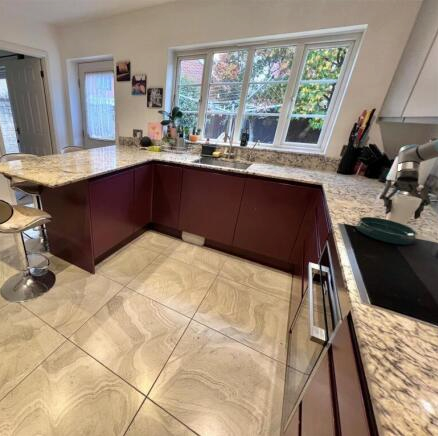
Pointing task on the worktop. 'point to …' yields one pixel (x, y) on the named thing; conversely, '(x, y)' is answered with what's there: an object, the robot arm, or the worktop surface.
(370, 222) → the bowl
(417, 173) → the robot arm
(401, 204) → the cup
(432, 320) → the worktop surface
